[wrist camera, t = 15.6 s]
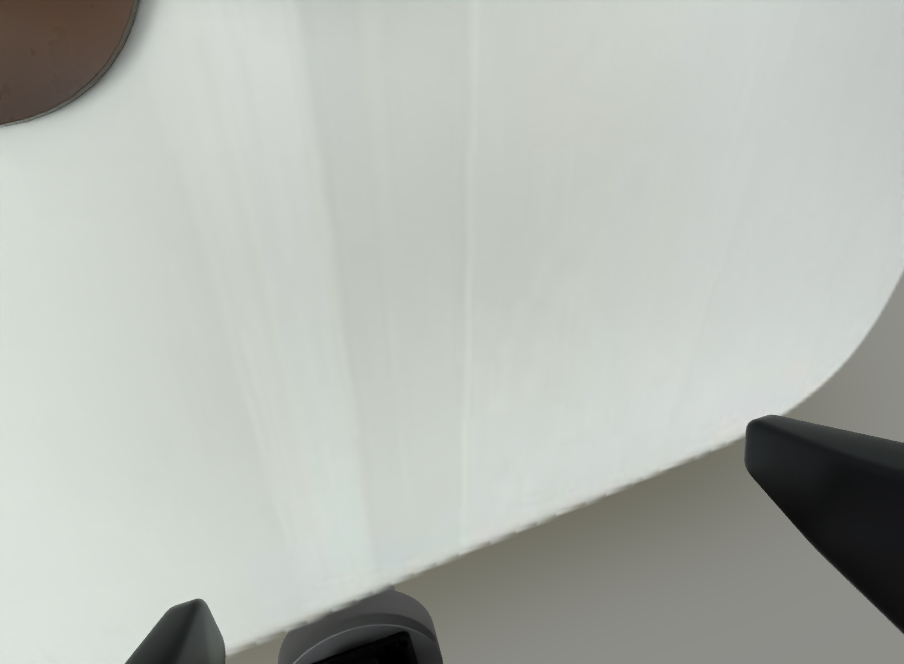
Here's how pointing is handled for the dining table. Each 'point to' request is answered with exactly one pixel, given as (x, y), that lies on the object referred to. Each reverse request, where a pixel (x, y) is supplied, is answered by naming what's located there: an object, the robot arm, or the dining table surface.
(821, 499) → the robot arm
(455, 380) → the dining table surface
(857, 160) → the dining table surface
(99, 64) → the coaster
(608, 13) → the dining table surface
